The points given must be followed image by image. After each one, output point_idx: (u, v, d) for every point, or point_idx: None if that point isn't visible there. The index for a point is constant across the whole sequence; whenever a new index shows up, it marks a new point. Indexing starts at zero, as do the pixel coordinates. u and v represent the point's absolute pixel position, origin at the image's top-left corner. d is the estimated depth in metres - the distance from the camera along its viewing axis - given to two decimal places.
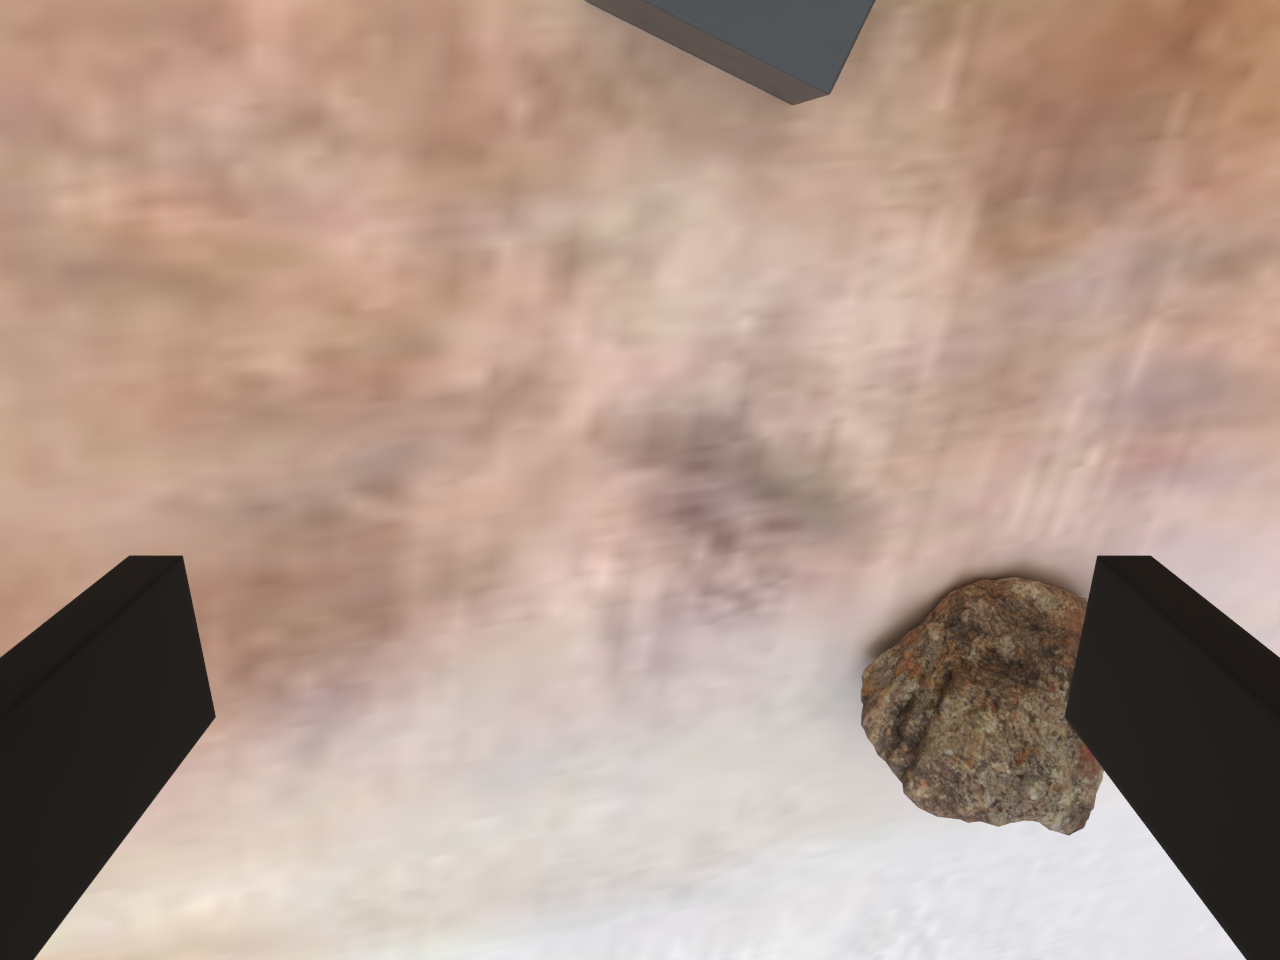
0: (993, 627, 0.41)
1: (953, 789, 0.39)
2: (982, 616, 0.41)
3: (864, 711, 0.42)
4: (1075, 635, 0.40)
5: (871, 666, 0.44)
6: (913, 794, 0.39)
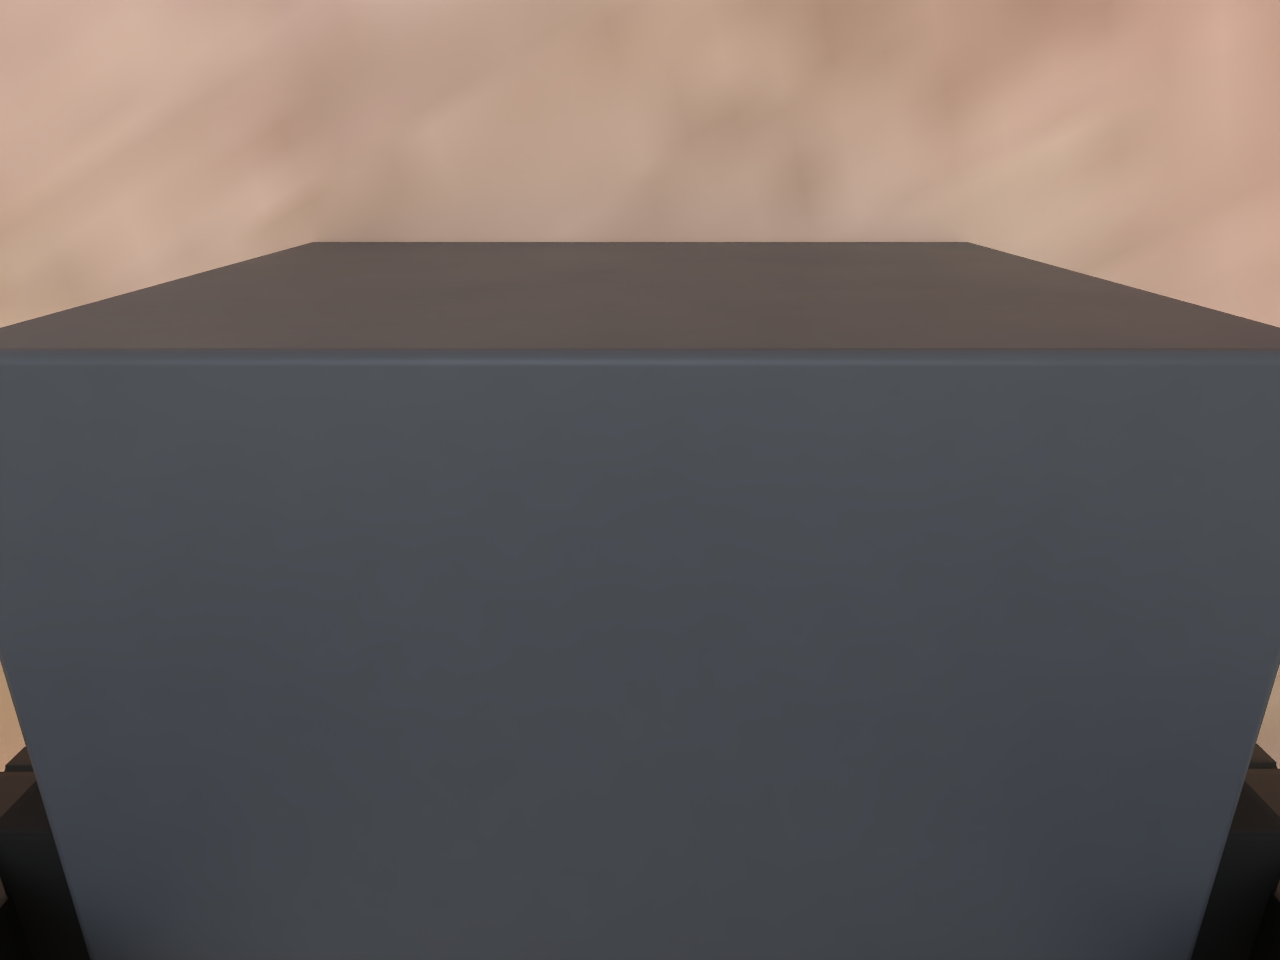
0: None
1: None
2: None
3: None
4: None
5: None
6: None
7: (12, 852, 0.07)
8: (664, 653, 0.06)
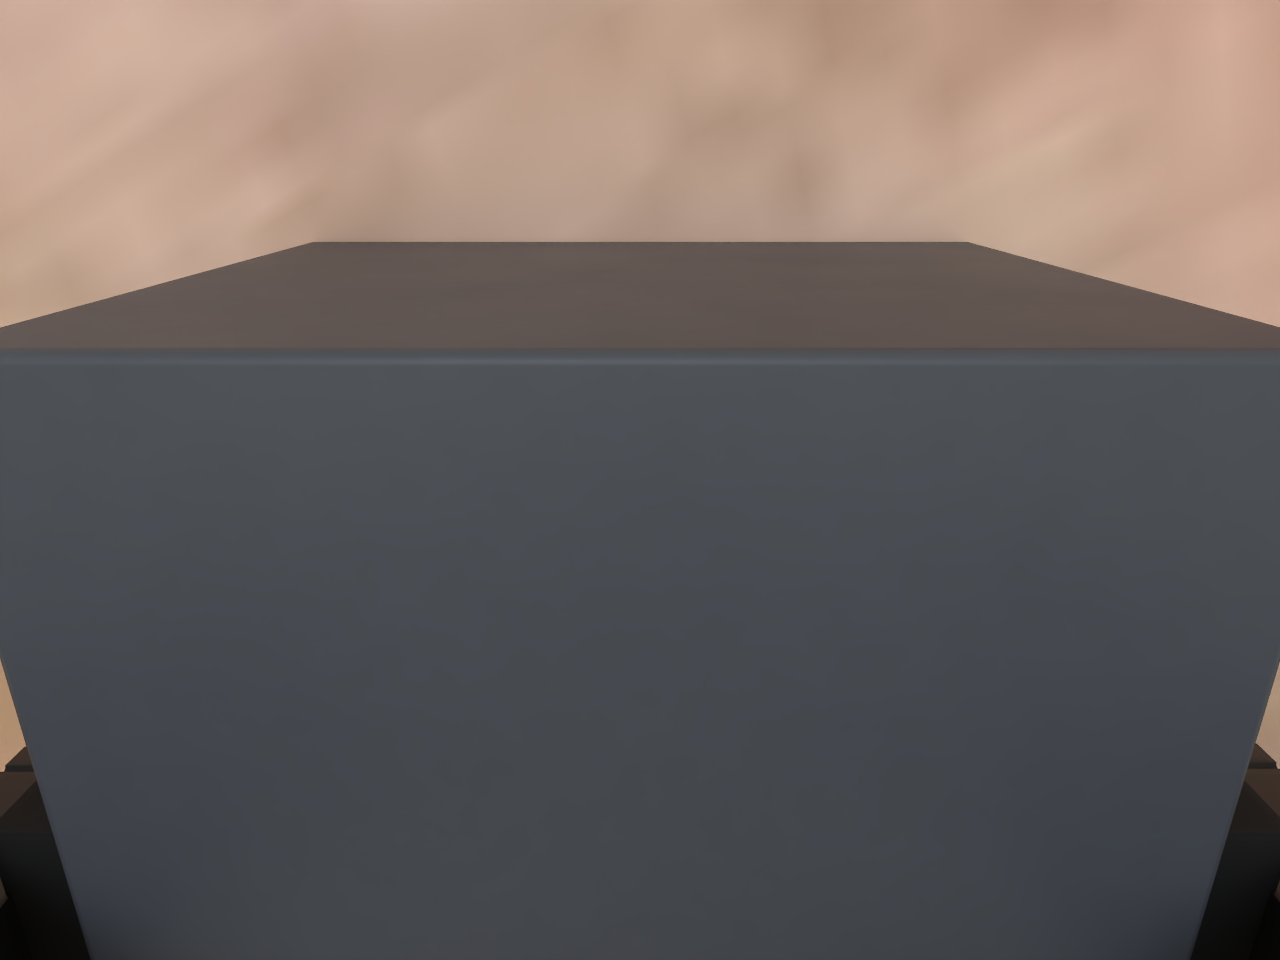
0: None
1: None
2: None
3: None
4: None
5: None
6: None
7: (12, 852, 0.07)
8: (664, 653, 0.06)
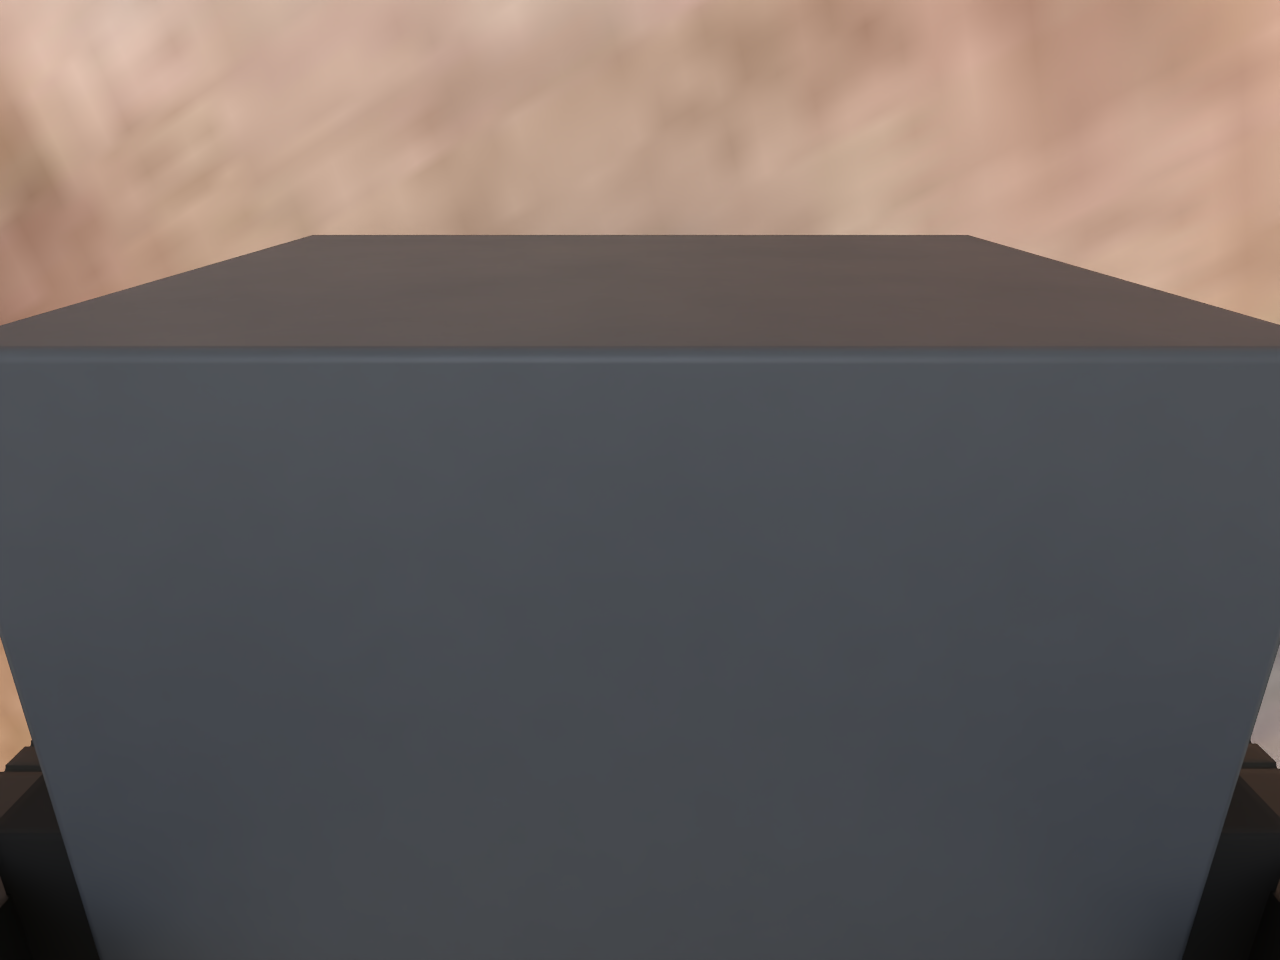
0: None
1: None
2: None
3: None
4: None
5: None
6: None
7: (13, 852, 0.07)
8: (665, 649, 0.06)
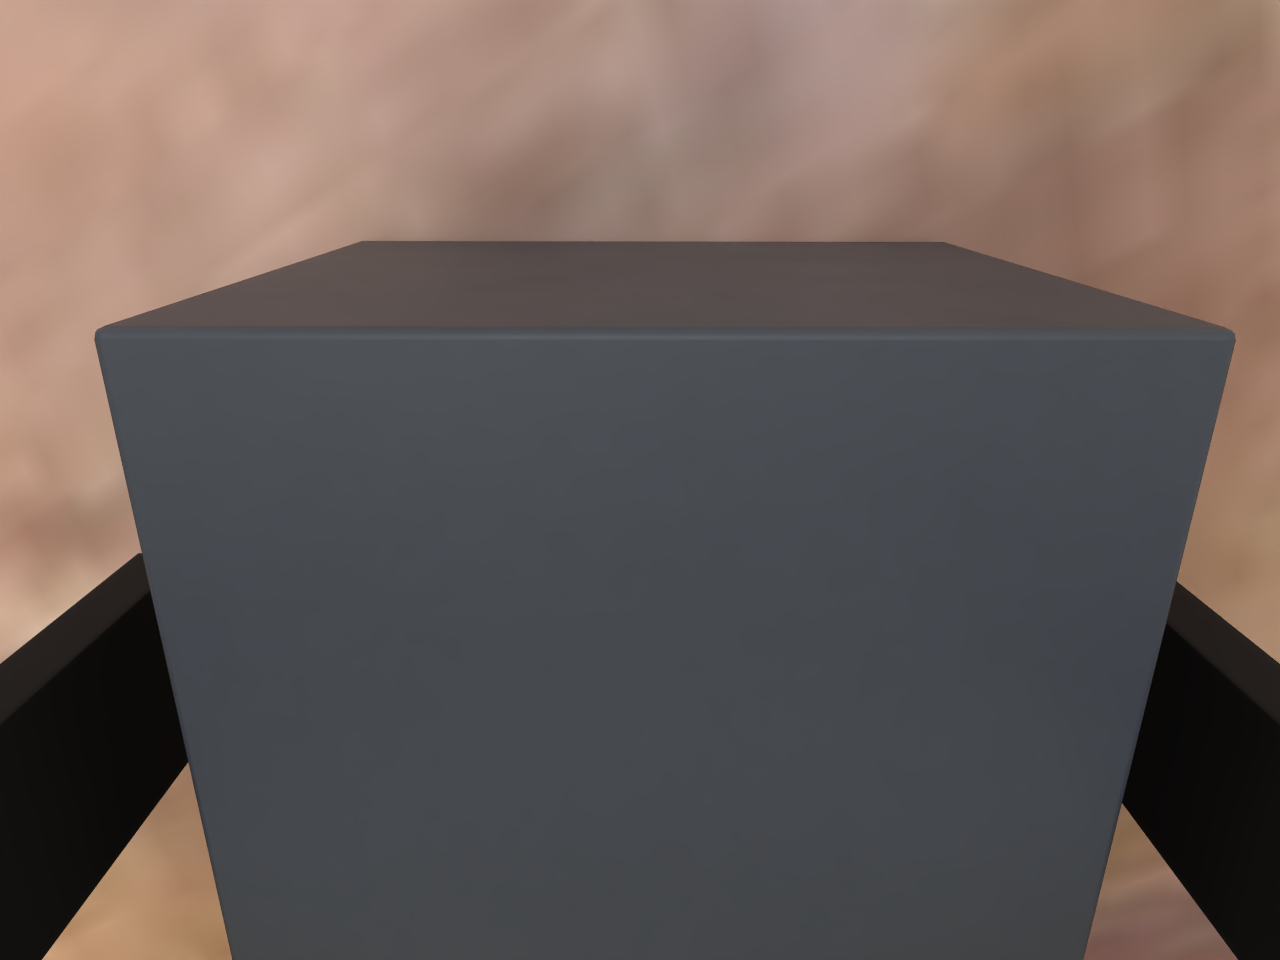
0: None
1: None
2: None
3: None
4: None
5: None
6: None
7: None
8: (683, 573, 0.08)
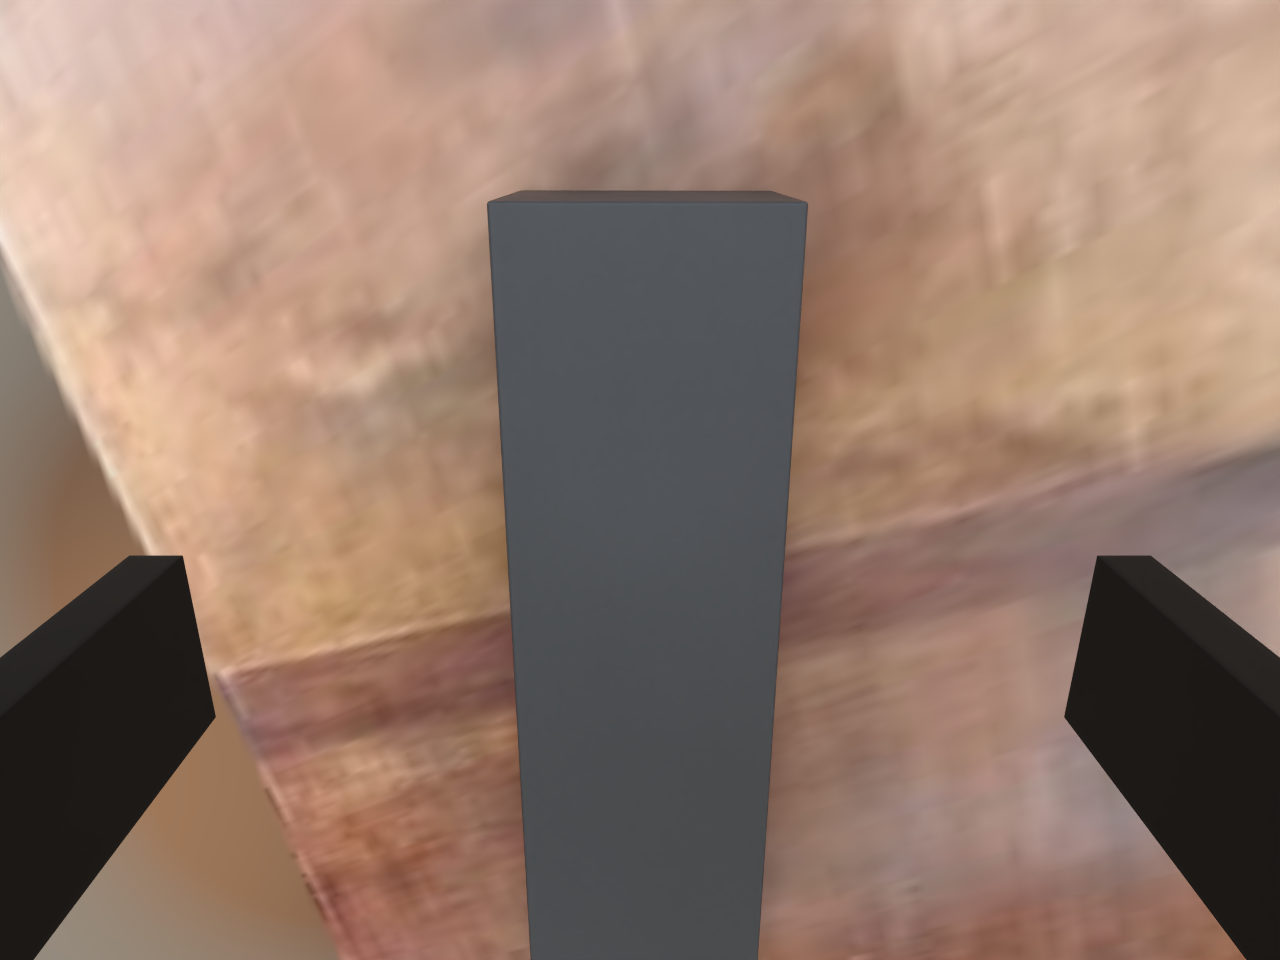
0: None
1: None
2: None
3: None
4: None
5: None
6: None
7: None
8: (653, 278, 0.26)
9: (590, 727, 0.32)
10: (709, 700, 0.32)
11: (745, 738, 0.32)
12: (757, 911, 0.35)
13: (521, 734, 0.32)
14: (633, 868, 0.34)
